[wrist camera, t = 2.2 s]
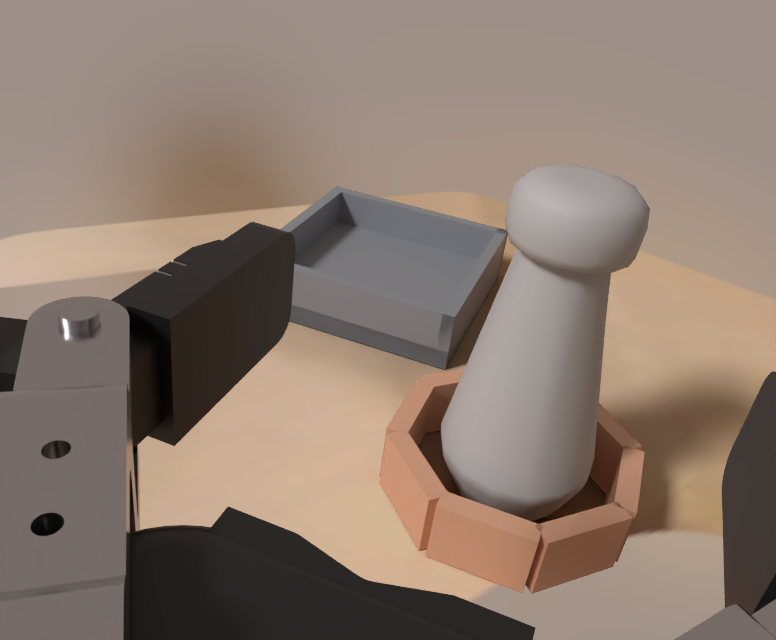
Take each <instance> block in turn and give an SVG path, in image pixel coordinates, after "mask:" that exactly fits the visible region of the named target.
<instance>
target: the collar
mask: <svg viewBox="0 0 776 640" xmlns="http://www.w3.org/2000/svg"><path fill="white" fill-rule="evenodd" d="M463 372H464V369H459V370H454V371H448V372H442V373H437V374H431V375H425V376H422V380H419V379H417V380H416V381H415V383H414V385H413V386H412V388H411V390H410V391H409V393H408V394H407V396H406V398H405V399H404V401H403V402H402V404H401V406H400V407H399V409H398V411H397V412H396V414H395V415H394V417H393V419H392V420H391V422H390V423H389V425H388V427H387V430H386V436H385V443H384V450H383V457H382V464H381V471H380V477H381V478H380V484H381V486H382V487H383V489H384V491H385V493H386V494H387V496H388V498H389V499H390V501H391V503H392V505H393V506H394V508H395V510H396V512H397V513H398V515H399V517H400V519H401V520H402V522H403V524H404V526H405V527H406V529H407V531H408V533H409V534H410V536H411V538H412V540H413V541H414V543H415V545H416V547H417V548H418V550H422V549H426V548H427V552H426V556H427V557H429V558H432V559H435V560H437V561H440V562H442V563H445V564H448V565H450V566H453V567H455V568H458V569H461V570H463V571H466V572H469V573H471V574H474V575H476V576H479V577H482V578H484V579H487V580H490V581H492V582H495V583H497V584H500V585H503V586H505V587H508V588H510V589H513V590H516V591H518V592H521V593H522V592H523V589H524V586H525V584H526V586H527V587H528V588H529V590H530V592H531V593H535V592H538V591H541V590H544V589H547V588H550V587H553V586H556V585H559V584H562V583H565V582H568V581H571V580H574V579H577V578H580V577H583V576H586V575H589V574H592V573H595V572H598V571H601V570H604V569H607V568H610V567H613V565H614V562H615V561H616V562H617V561H618V558H619V556H620V554H621V551H622V549H623V546H624V544H625V541H626V539H627V537H628V534H629V532H630V529H631V527H632V524H633V522H634V520H635V517H636V515H637V510H638V502H639V494H640V486H641V478H642V470H643V462H644V454H645V452H644V451H641V447H642V445H641V444H640V443H639V442H637V441H636V440H635V439H634V438H633V437H632V436H631V435H630V434H629V433H628V432H627V431H626V430H625V429H624V428H623V427H622V426H621V425H620V424H619V423H618V422H617V421H616V420H615V419H614V418H613V417H612V416H611V415H610V414H609V413H608V412H607V411H606V410H605V409H604V408H603V407H602V406H601V405H600V404H599V406H598V418H597V430H596V443H595V455H594V461H593V464H592V467H591V471H590V474H589V476H590V477H591V478H592V479H593V480H594V482H595V483H596V484H597V485H598V486H599V487H600V488H601V489H602V490H603V492H604V493H605V494H606V496H605V502H604V505H603V506H600V507H596V508H593V509H589V510H586V511H582V512H579V513H575V514H572V515H569V516H565V517H562V518H558V519H555V520H551V521H548V522H544V523H541V524H537V523H534V522H531V521H528V520H526V519H523V518H520V517H517V516H514V515H512V514H509V513H506V512H503V511H500V510H498V509H495V508H492V507H489V506H486V505H484V504H481V503H478V502H475V501H472V500H470V499H467V498H464V497H461V496H458V495H455V494H453V493H450V492H447V490H446V489H445V487H444V486H443V484H442V483H441V481H440V480H439V478H438V477H437V475H436V474H435V472H434V471H433V469H432V468H431V466H430V465H429V463H428V462H427V460H426V459H425V457H424V456H423V454H422V453H421V451H420V450H419V448H418V446H419V445H420V443H421V441H422V439H423V437H424V435H425V433H429V432H434V431H439V430H441V423H442V420H443V418H444V416H445V414H446V411H447V409H448V407H449V404H450V402H451V400H452V397H453V395H454V393H455V390H456V388H457V386H458V383H459V381H460V379H461V376H462V374H463Z"/></svg>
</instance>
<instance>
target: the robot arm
mask: <svg viewBox="0 0 776 640" xmlns="http://www.w3.org/2000/svg"><path fill="white" fill-rule="evenodd" d="M294 262H295V239H294V236H293V235H292V233H290V232H287V231H283V230H280V229H276V228H272V227H269V226H265V225H262V224H258V223H255V222H251V223H249V224H247V225H245V226H244V227H243V228H241V229H240V230H238V231H237V232H235V233H234V234H232V235H231V236H229V237H228V238H226V239H225V240H223V241H221V240H216V241H213V242H209V243H206V244H202V245H199V246H196V247H192V248H191V249H189V250H188V251H186V252H185V253H183V254H181V255H180V256H178V257H177V258H175V259H174V261H173V263H172V262H169V263H168V264H166V265H164V266H163V267H161V268H160V269H159V271H158V273H157V272H154V273H152V274H151V275H149V276H147V277H146V278H144V279H143V280H141V281H140V282H138V283H137V284H135V285H134V286H132V287H131V288H129V289H127V290H126V291H124V292H123V293H121V294H120V295H118V296H117V297H115V298H114V299H112V300H108V299H104V298H98V297H71V298H65V299H61V300H57V301H54V302H51V303H48V304H46V305H44V306H42V307H40V308H39V309H37V310H36V311H35V312H34V313H32V314H31V316H30V317H29V319H28V320H21V319H12V318H4V317H0V640H532V639H533V635H534V631H535V627H532V626H530V625H527V624H525V623H522V622H520V621H517V620H515V619H512V618H509V617H507V616H504V615H502V614H499V613H497V612H494V611H491V610H489V609H487V608H484V607H481V606H479V605H477V604H474V603H471V602H469V601H466V600H464V599H461V598H459V597H456V596H454V595H448V594H442V593H436V592H430V591H424V590H418V589H412V588H406V587H400V586H395V585H389V584H383V583H377V582H372V581H368V580H365V579H363V578H361V577H359V576H358V575H356V574H355V573H353V572H352V571H350V570H349V569H347V568H346V567H345V566H343V565H342V564H340V563H339V562H337V561H336V560H334V559H333V558H332V557H330V556H329V555H327V554H326V553H324V552H323V551H321V550H320V549H319V548H317V547H316V546H314V545H313V544H311V543H310V542H308V541H307V540H306V539H304V538H303V537H301V536H300V535H298V534H296V533H294V532H291V531H289V530H286V529H284V528H281V527H279V526H276V525H274V524H271V523H269V522H266V521H264V520H261V519H258V518H256V517H253V516H251V515H248V514H246V513H243V512H241V511H238V510H236V509H233V508H231V507H227V509H226V510H225V511H224V512H223V513H222V515H221V516H220V517H219V518H218V520H217V521H216V522H215V523H214V525H213V526H212V527H204V526H188V525H179V526H163V527H155V528H148V529H143V530H140V501H139V453H138V444H139V443H140V442H141V441H142V440H143V439H144V438H145V437H146V436H150V437H152V438H155V439H158V440H160V441H163V442H165V443H168V444H171V445H173V446H175V445H176V444H177V443H178V442H179V441H180V440H181V439H182V438H183V437H184V436H185V435H186V434H187V433H188V432H189V431H190V430H191V429H192V428H193V427H194V426H195V425H196V424H197V423H198V422H199V421H200V420H201V419H202V418H203V417H204V416H205V415H206V414H207V413H208V412H209V411H210V410H211V409H212V408H213V407H214V406H215V405H216V404H217V403H218V402H219V401H220V400H221V399H222V398H223V397H224V396H225V395H226V394H227V393H228V392H229V391H230V390H231V389H232V388H233V387H234V386H235V385H236V384H237V383H238V382H239V381H240V380H241V379H242V378H243V377H244V376H245V375H246V374H247V373H248V372H249V371H250V370H251V369H252V368H253V367H254V366H255V365H256V364H257V363H258V362H259V361H260V360H261V359H262V358H263V357H264V356H265V355H266V354H267V353H268V352H269V351H270V350H271V349H272V348H273V347H274V346H275V345H276V344H277V343H278V342H279V341H280V339H281V338H282V336H283V335H284V333H285V331H286V328H287V326H288V323H289V319H290V315H291V308H292V293H293V278H294ZM722 510H723V548H724V585H725V609H723V610H721V611H720V612H718V613H717V614H715V615H713V616H712V617H710V618H709V619H707V620H705V621H704V622H702V623H701V624H699V625H697V626H696V627H694V628H693V629H691V630H690V631H688V632H686V633H684V634H683V635H681V636H680V637H678V638H676V639H675V640H776V372H771V373H770V374H769V375H768V376H767V378H766V379H765V381H764V383H763V385H762V387H761V389H760V391H759V393H758V395H757V397H756V399H755V401H754V403H753V405H752V407H751V410H750V412H749V414H748V416H747V418H746V420H745V422H744V424H743V426H742V428H741V430H740V433H739V435H738V437H737V439H736V441H735V443H734V445H733V447H732V449H731V452H730V454H729V457H728V460H727V463H726V467H725V471H724V475H723V481H722Z"/></svg>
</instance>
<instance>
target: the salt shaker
mask: <svg viewBox="0 0 776 640" xmlns="http://www.w3.org/2000/svg"><path fill="white" fill-rule="evenodd" d="M649 212H650V208H649V206H648V205H647V204H646V202H645V200H644V198H643V197H642V195H641V194H640V193H639V191H638V190H637V188H636V187H635V186H634V185H632V184H630V183H628V182H626V181H625V180H623V179H621V178H619V177H617V176H615V175H612V174H609V173H606V172H603V171H600V170H597V169H593V168H588V167H583V166H577V165H552V164H551V165H546V166H542V167H538V168H535V169H533V170H532V171H530V172H529V173H527V174H526V175H524V176H523V177H522V178H521V179H520V180H519V181H518V182H517V183H516V185H515V187H514V190H513V192H512V195H511V197H510V199H509V202H508V207H507V213H506V219H505V223H506V231H507V234H508V236H509V239H510V242H511V244H512V245H514V246H515V247H516V248H517V249H516V251H515V253H514V256H513V258H512V260H511V263H510V265H509V267H508V270H507V272H506V274H505V277H504V279H503V281H502V284H501V286H500V288H499V291H498V293H497V295H496V297H495V300H494V302H493V304H492V307H491V309H490V311H489V314H488V316H487V318H486V321H485V323H484V325H483V328H482V330H481V332H480V335H479V337H478V339H477V342H476V344H475V346H474V349H473V351H472V353H471V356H470V358H469V360H468V362H467V365H466V367H465V369H464V372H463V374H462V376H461V379H460V381H459V383H458V386H457V388H456V390H455V393H454V395H453V397H452V400H451V402H450V404H449V407H448V409H447V411H446V414H445V416H444V418H443V420H442V423H441V440H442V449H443V457H444V460H445V462H446V464H447V466H448V468H449V471H450V473H451V475H452V477H453V479H454V482H455V484H456V486H457V488H458V490H459V493H460V495H461V497H464V498H467V499H470V500H472V501H475V502H478V503H481V504H484V505H486V506H489V507H492V508H495V509H498V510H500V511H503V512H506V513H509V514H512V515H514V516H517V517H520V518H523V519H526V520H528V521H534V520H537V519H540V518H543V517H546V516H550V515H551V514H552V513H554V512H555V511H556V510H557V509H559V508H560V507H561V506H562V505H564V504H565V503H566V502H567V501H568V500H570V499H571V498H572V497H573V496H575V495H576V494H577V493H578V492H580V491H581V490H582V488H583V487H584V485H585V484H586V482H587V480H588V477H589V474H590V471H591V467H592V464H593V461H594V455H595V443H596V430H597V418H598V406H599V394H600V382H601V370H602V358H603V346H604V334H605V321H606V312H607V303H608V294H609V285H610V276H611V273H612V272H615V271H618V270H620V269H623V268H626V267H629V265H630V264H631V263H632V262H633V261H634V259H635V258H636V255H637V253H638V251H639V248H640V245H641V243H642V241H643V238H644V236H645V233H646V231H647V227H648V220H649Z"/></svg>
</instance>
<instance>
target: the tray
mask: <svg viewBox="0 0 776 640" xmlns="http://www.w3.org/2000/svg"><path fill="white" fill-rule="evenodd" d="M280 230H283V231H287V232H290V233H292V235H293V236H294V239H295V262H294V278H293V293H292V308H291V315H290V319H289V321H291V322H294V323H298V324H301V325H304V326H307V327H310V328H314V329H317V330H320V331H323V332H326V333H329V334H333V335H336V336H339V337H342V338H345V339H349V340H352V341H355V342H358V343H361V344H365V345H368V346H371V347H374V348H377V349H381V350H384V351H387V352H390V353H393V354H397V355H400V356H403V357H406V358H409V359H413V360H416V361H419V362H422V363H425V364H428V365H432V366H435V367H438V368H441V369H444V370H445V369H446V367H447V365H448V363H449V362H450V360H451V358H452V356H453V355H454V353H455V351H456V349H457V348H458V346H459V344H460V342H461V341H462V339H463V337H464V335H465V334H466V332H467V330H468V328H469V327H470V325H471V323H472V321H473V320H474V318H475V316H476V314H477V313H478V311H479V309H480V307H481V306H482V304H483V302H484V300H485V299H486V297H487V295H488V293H489V292H490V290H491V288H492V286H493V285H494V283H495V281H496V279H497V278H498V276H499V272H500V267H501V262H502V258H503V253H504V249H505V244H506V240H507V235H508V234H507V231H506V230H503V229H499V228H496V227H492V226H488V225H484V224H480V223H476V222H472V221H468V220H465V219H461V218H457V217H453V216H449V215H445V214H441V213H437V212H434V211H430V210H426V209H422V208H418V207H414V206H410V205H406V204H403V203H399V202H395V201H391V200H387V199H383V198H379V197H375V196H372V195H368V194H364V193H360V192H356V191H352V190H348V189H344V188H341V187H335V188H334V189H333V190H331V191H330V192H329V193H327V194H326V195H325V196H323V197H322V198H321V199H320V200H318V201H317V202H316V203H314V204H313V205H312V206H310V207H309V208H308V209H306V210H305V211H304V212H302V213H301V214H300V215H298V216H297V217H296V218H294V219H293V220H292V221H291V222H289V223H288V224H287V225H285V226H284V227H283V228H281V229H280Z"/></svg>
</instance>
